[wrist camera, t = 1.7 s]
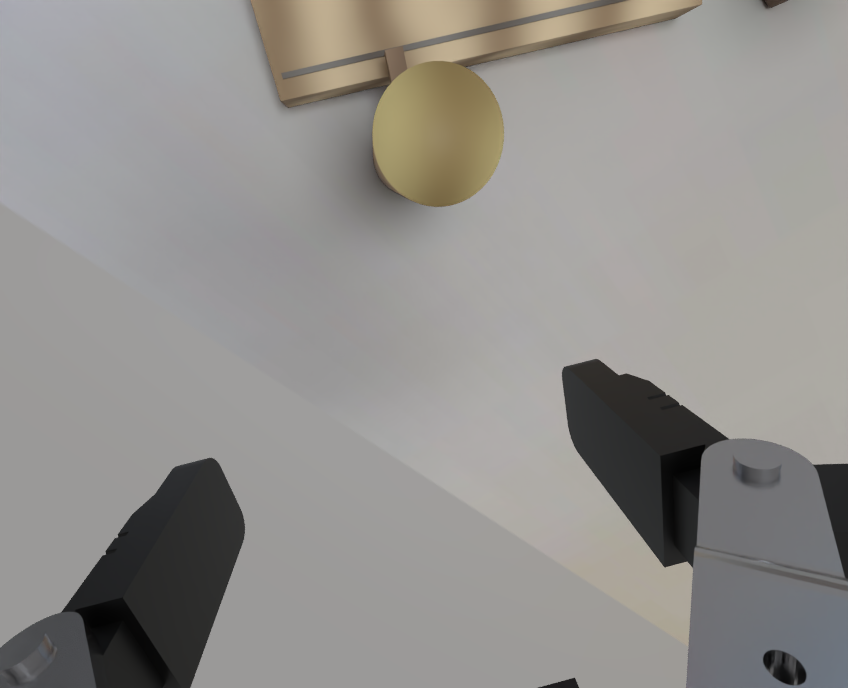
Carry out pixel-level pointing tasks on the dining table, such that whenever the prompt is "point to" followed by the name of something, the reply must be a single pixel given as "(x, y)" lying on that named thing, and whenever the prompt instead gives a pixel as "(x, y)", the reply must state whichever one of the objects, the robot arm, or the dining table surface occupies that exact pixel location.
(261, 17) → the board
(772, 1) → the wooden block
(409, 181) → the wooden cylinder yellow top
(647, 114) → the dining table surface
